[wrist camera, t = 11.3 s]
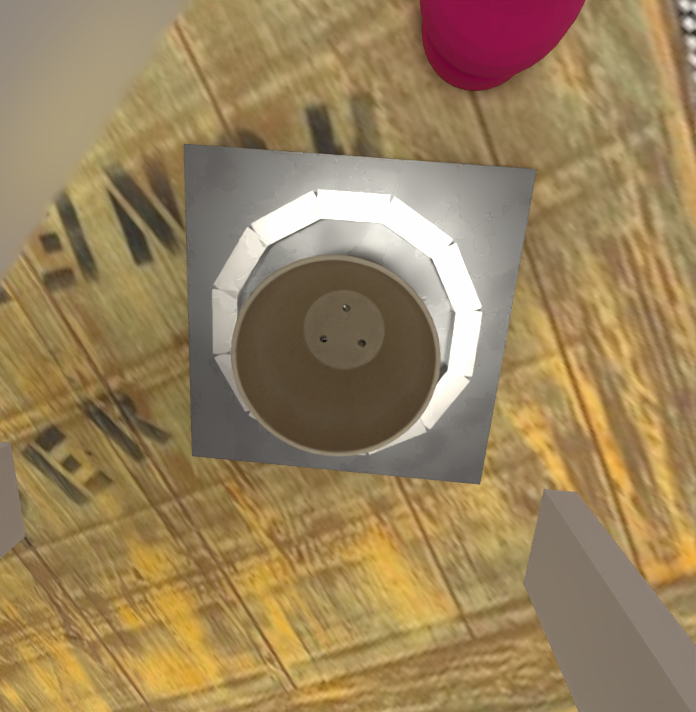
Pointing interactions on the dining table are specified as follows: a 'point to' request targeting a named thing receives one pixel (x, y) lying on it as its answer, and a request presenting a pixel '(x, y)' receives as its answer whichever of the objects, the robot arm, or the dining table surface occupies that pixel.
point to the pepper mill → (491, 37)
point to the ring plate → (353, 238)
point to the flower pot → (335, 355)
